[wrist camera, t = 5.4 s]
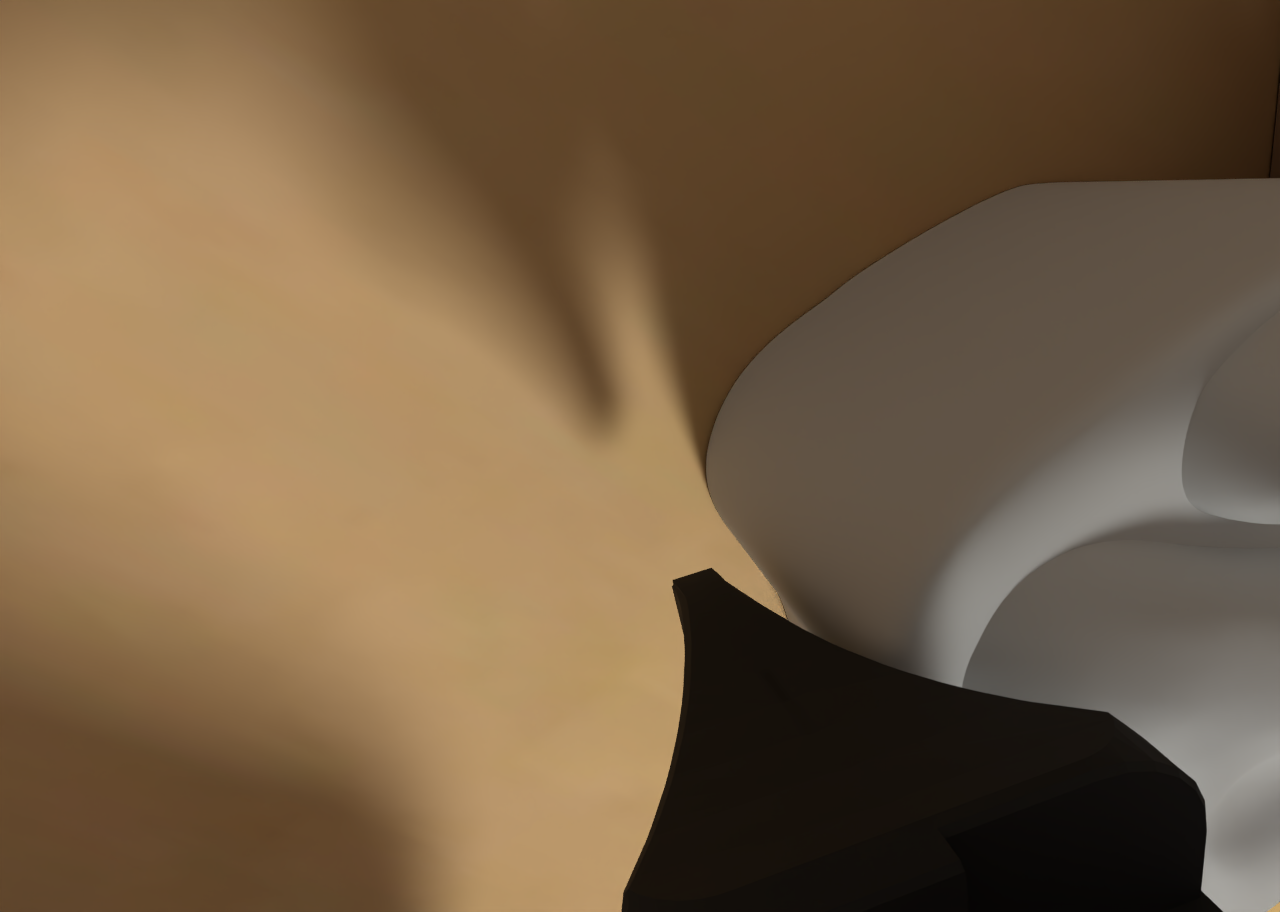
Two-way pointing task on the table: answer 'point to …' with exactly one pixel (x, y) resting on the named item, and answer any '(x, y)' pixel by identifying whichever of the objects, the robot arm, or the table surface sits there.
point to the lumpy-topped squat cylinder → (1048, 474)
